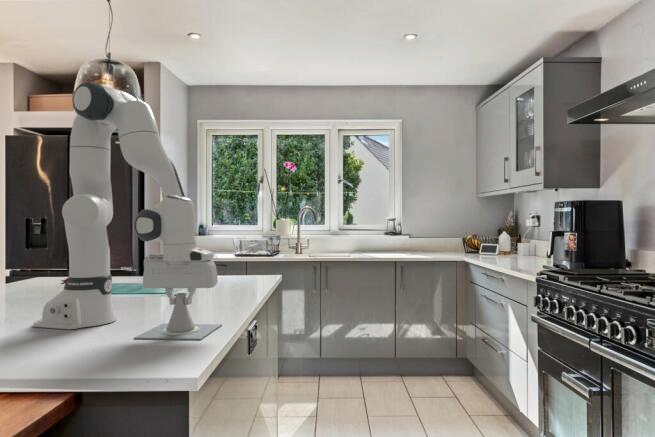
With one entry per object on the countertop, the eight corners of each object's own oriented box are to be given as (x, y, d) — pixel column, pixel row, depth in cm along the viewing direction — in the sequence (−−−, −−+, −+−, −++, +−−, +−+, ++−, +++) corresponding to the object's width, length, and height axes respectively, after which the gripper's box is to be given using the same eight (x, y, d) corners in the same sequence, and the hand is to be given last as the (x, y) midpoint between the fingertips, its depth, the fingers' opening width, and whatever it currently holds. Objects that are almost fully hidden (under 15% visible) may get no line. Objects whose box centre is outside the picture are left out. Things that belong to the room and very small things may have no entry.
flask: (182, 334, 119) (181, 296, 119) (160, 331, 122) (160, 294, 122) (200, 328, 126) (199, 292, 126) (179, 326, 128) (179, 290, 128)
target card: (133, 339, 117) (133, 336, 117) (162, 324, 133) (162, 322, 133) (200, 340, 115) (200, 337, 115) (221, 325, 131) (221, 323, 131)
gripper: (137, 255, 122) (138, 306, 122) (211, 254, 120) (212, 306, 120) (149, 253, 128) (150, 302, 128) (219, 252, 126) (220, 302, 126)
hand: (180, 304), depth 124 cm, fingers open, 3 cm apart
